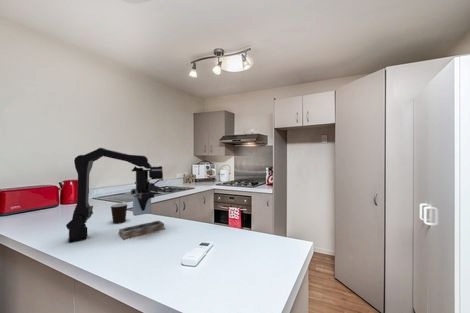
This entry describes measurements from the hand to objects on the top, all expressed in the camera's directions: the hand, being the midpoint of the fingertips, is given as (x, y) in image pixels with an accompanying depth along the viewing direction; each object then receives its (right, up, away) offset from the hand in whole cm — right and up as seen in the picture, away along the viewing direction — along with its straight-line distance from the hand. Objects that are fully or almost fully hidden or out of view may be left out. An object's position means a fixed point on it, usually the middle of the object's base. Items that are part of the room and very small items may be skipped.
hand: (142, 209), depth 106 cm
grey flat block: (0, -2, 0) cm, 2 cm away
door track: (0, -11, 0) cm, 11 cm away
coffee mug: (-21, -12, +18) cm, 30 cm away
